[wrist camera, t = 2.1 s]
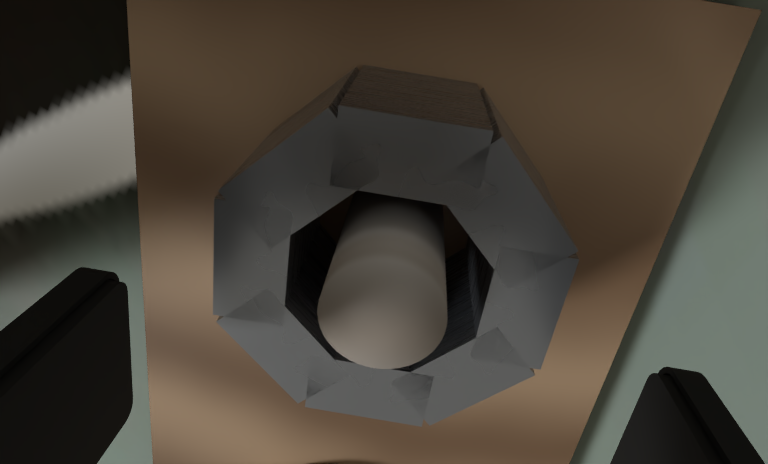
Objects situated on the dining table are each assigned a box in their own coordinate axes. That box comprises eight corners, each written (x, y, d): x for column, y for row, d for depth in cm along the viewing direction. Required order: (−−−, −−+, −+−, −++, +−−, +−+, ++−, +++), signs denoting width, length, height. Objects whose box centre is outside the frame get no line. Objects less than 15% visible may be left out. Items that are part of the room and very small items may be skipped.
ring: (273, 49, 13) (215, 84, 10) (567, 98, 13) (617, 152, 10) (260, 296, 16) (211, 391, 13) (496, 335, 16) (514, 442, 13)
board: (142, -93, 13) (-63, -126, 8) (738, 6, 13) (956, 42, 8) (171, 580, 25) (98, 754, 19) (484, 633, 25) (498, 823, 19)
